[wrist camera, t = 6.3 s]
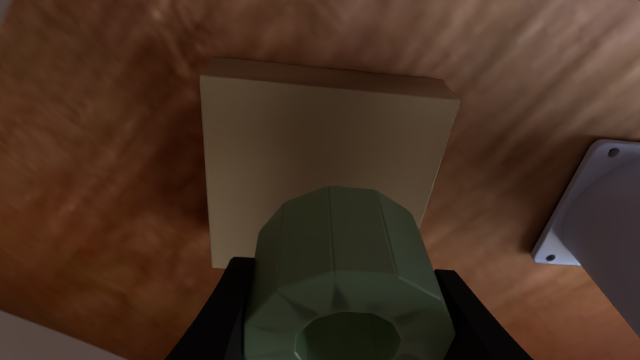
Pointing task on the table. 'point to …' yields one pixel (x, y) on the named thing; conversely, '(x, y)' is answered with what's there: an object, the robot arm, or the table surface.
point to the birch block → (313, 141)
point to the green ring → (344, 283)
